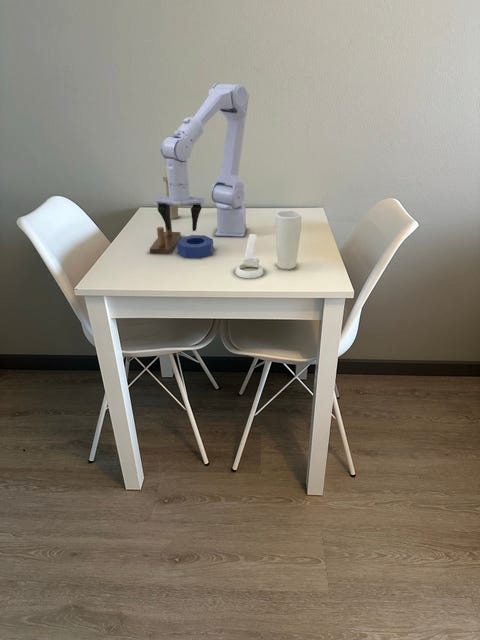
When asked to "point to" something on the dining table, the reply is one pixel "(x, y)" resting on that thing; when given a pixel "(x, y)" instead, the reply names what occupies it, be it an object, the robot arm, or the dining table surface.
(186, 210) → the dining table surface
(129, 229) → the dining table surface
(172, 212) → the handle
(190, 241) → the ring
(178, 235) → the rack
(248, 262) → the white stemmed ring
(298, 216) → the drinking glass
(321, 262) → the dining table surface
